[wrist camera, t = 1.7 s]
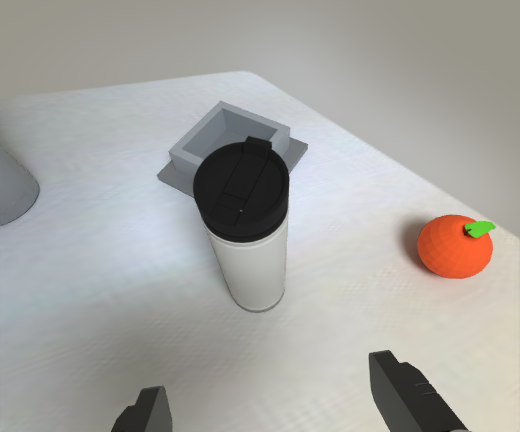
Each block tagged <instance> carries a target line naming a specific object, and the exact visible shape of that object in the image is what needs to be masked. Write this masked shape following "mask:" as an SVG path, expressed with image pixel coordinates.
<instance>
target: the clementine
mask: <svg viewBox="0 0 520 432" xmlns="http://www.w3.org/2000/svg"><path fill="white" fill-rule="evenodd" d="M494 228H496V227H495V226H494V225H493V223H491V222H487V221H479V222H477V221H475V220H473V219H471V218H469V217H465V216H461V215H445V216H441V217H438V218H435V219H434V220H432V221H430V222H429V223H428V224H427V225H426V226H425V227H424V228H423V229H422V231H421V233H420V235H419V237H418V242H417V248H418V253H419V256H420V258H421V260H422V262H423V263H424V264H425V265H426V267H427V268H429V269H430V270H431V271H433V272H434V273H436V274H438V275H440V276H442V277H446V278H455V279H463V278H467V277H471V276H473V275H476V274H477V273H479V272H480V271H482V270H483V269H484V268H485V267H486V265H487V264H488V263H489V261H490V259H491V255H492V251H493V246H492V241H491V238H490V236H489V234H488V232H489V231H490V230H492V229H494Z"/></svg>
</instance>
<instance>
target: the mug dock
mask: <svg viewBox="0 0 520 432" xmlns="http://www.w3.org/2000/svg"><path fill="white" fill-rule="evenodd" d="M248 136H251V137H256V138H260V139H263V140H267V141H271V142H272V150H274V151H275V152H276V153H277V154H279V155H280V156H281V158H282V159H283V161H284V162H285V164H286V166H287V168H288V172H289V174H290V172H291V171H292V170H293V168H294V167H295V165H296V164H297V163H298V161H299V160H300V159H301V157H302V156H303V154H304V153H305V152H306V150H307V148H308V144H306V143H303V142H301V141H298V140H296V139H293V138H291V137H290V127H288V126H286V125H283V124H280V123H278V122H275V121H272V120H270V119H267V118H265V117H262V116H259V115H257V114H254V113H251V112H249V111H246V110H243V109H241V108H238V107H236V106H233V105H230V104H228V103H225V102H222V101H220V102H219V103H218V104H217V105H216V106H215V107H214V108H213V109H212V110H211V111H210V112H209V113H208V114H206V115H205V116H204V117H203V118H202V119H201V120H200V121H199V122H198V123H197V124H196V125H195V126H194V127H193V128H192V129H191V130H190V131H189V132H188V133H187V134H186V135H185V136H184V137H183V138H182V139H181V140H180V141H179V142H178V143H177V144H176V145H175V146H174V147H172V148H171V149H170V150H169V151H168V152H169V154H170V156H171V159H172V161H170V162H169V163H168V164H167V165H166V166H165V167H164V168H163V169H162V170H161V171H160V172H159V173H158V174H157V177H158V179H159V180H161V181H162V182H164V183H166V184H168V185H170V186H172V187H174V188H176V189H178V190H180V191H182V192H184V193H185V194H187V195H189V196H191V197H193V198H194V194H193V181H194V176H195V174H196V171H197V169H198V167H199V166H200V165H201V163H202V162H203V160H204V159H205V158H206V157H207V156H208V155H209V154H211V153H212V152H214V151H215V150H217V149H219V148H221V147H223V146H225V145H228V144H231V143H236V142H245V140H246V138H247V137H248Z"/></svg>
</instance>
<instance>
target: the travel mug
mask: <svg viewBox="0 0 520 432" xmlns="http://www.w3.org/2000/svg"><path fill="white" fill-rule="evenodd" d="M193 194H194V198H195V201H196V204H197V206H198V209H199V211H200V214H201V218H202V221H203V224H204V226H205V229H206V231H207V234H208V236H209V239H210V241H211V244H212V246H213V249H214V251H215V254H216V256H217V259H218V262H219V264H220V267H221V269H222V272H223V274H224V277H225V279H226V282H227V284H228V287H229V289H230V292H231V294H232V297H233V299H234V301H235V302H236V303H237V304H238V305H239V306H240V307H241V308H242V309H244V310H246V311H249V312H254V313H260V312H265V311H268V310H270V309H272V308H273V307H275V306H276V305H277V304H278V303H279V301H280V300H281V298H282V296H283V294H284V290H285V271H286V252H287V233H288V214H289V200H288V198H289V172H288V168H287V166H286V164H285V162H284V161H283V159H282V158H281V156H280V155H279V154H277V153H276V152H275V151H274V150H272V142H271V141H267V140H263V139H260V138H256V137H251V136H248V137H247V138H246V140H245V142H236V143H231V144H228V145H225V146H223V147H221V148H219V149H217V150H215V151H214V152H212V153H211V154H209V155H208V156H207V157H206V158H205V159H204V160H203V162H202V163H201V165H200V166H199V167H198V169H197V171H196V174H195V176H194V181H193Z"/></svg>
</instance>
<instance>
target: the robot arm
mask: <svg viewBox="0 0 520 432" xmlns="http://www.w3.org/2000/svg"><path fill="white" fill-rule="evenodd" d="M38 192H39V186H38V183H37V181H36V180H35V179H34V178H33V177H32V176H31V175H30V174H29V173H28V172H27V171H26V170H25V169H24V168H23V167H22V166H21V165H20V164H19V163H18V162H17V161H16V160H15V159H13V158H12V157H11V156H10V155H9V154H8V153H7V152H6V151H5V150H4V149H3V148H2V147H1V146H0V225H3V224H6V223H8V222H11V221H13V220H14V219H16V218H18V217H19V216H21V215H22V214H24V213H25V212H26V211H27V210H28V209H29V208H30V207H31V206H32V204H33V203H34V202H35V200H36V198H37V196H38ZM369 370H370V385H371V391H372V395H373V398H374V401H375V404H376V406H377V408H378V409H379V411H380V413H381V415H382V417H383V419H384V421H385V423H386V425H387V426H388V428H389V430H390V432H471V431H469V430H468V429H467V428H466V427H465V426H464V424H463V423H462V422H461V421H460V419H459V418H458V417H457V416H456V415H455V413H454V412H453V411H452V410H451V408H450V407H449V406H448V405H447V403H446V402H445V401H444V400H443V399H442V397H441V396H440V395H439V394H437V392H436V390H435V389H434V387H433V386H432V385H431V384H429V381H428V380H427V379H426V378H425V376H424V375H423V374H422V373H421V371H420V370H418V369H417V368H415V367H414V366H412V365H411V364H409V363H408V362H403V363H399V362H398V361H397V359H396V358H395V357H394V355H393V354H392V353H391V351H389V350H385V351H379V352H373V353H369ZM111 432H172V417H171V413H170V408H169V404H168V400H167V395H166V391H165V388H164V386H156V387H150V388H144V389H142V390H141V392H140V394H139V397H138V399H137V402H136V404H135V405H133V406H128V407H127V408H126V409H125V410H124V411H123V412H122V414H121V415H120V416H119V417H118V418H117V419H116V422H115V424H114V426H113V428H112V430H111Z"/></svg>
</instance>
